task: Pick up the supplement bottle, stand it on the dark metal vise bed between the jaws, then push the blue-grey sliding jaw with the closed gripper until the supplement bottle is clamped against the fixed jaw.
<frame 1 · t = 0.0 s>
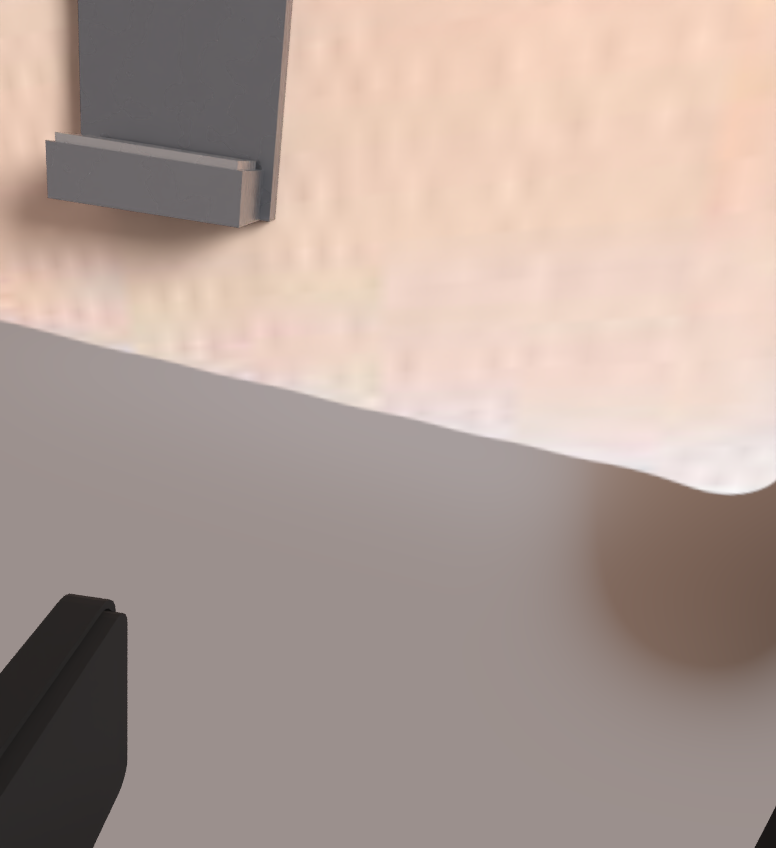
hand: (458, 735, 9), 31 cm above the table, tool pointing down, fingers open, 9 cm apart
vise bed: (191, 18, 33), on the table
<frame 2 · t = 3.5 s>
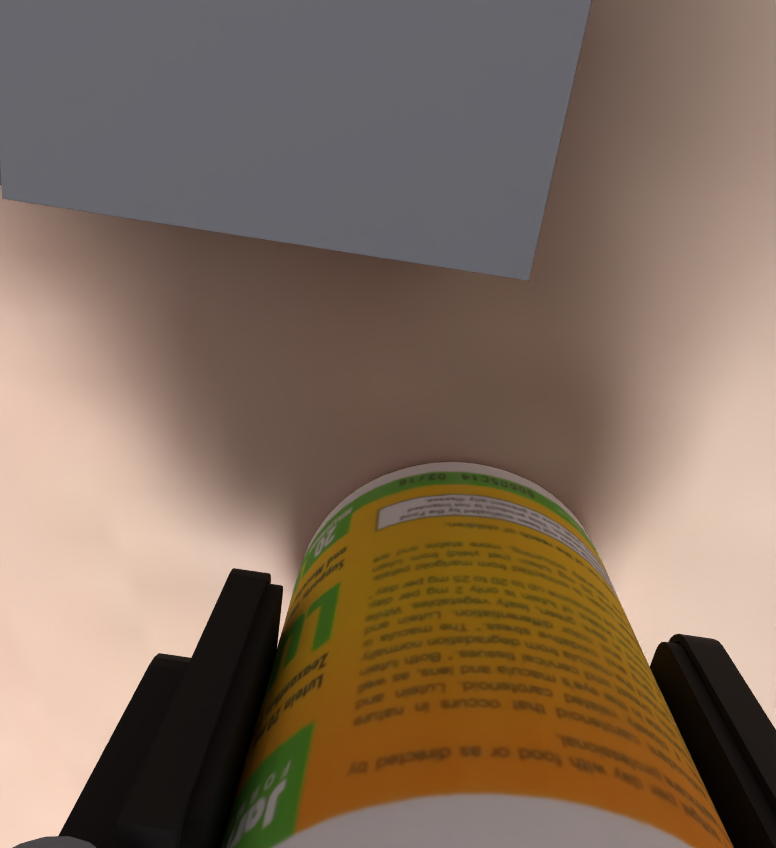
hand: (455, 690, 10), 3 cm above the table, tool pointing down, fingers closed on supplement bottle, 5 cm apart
supplement bottle: (447, 581, 12), on the table, touching gripper
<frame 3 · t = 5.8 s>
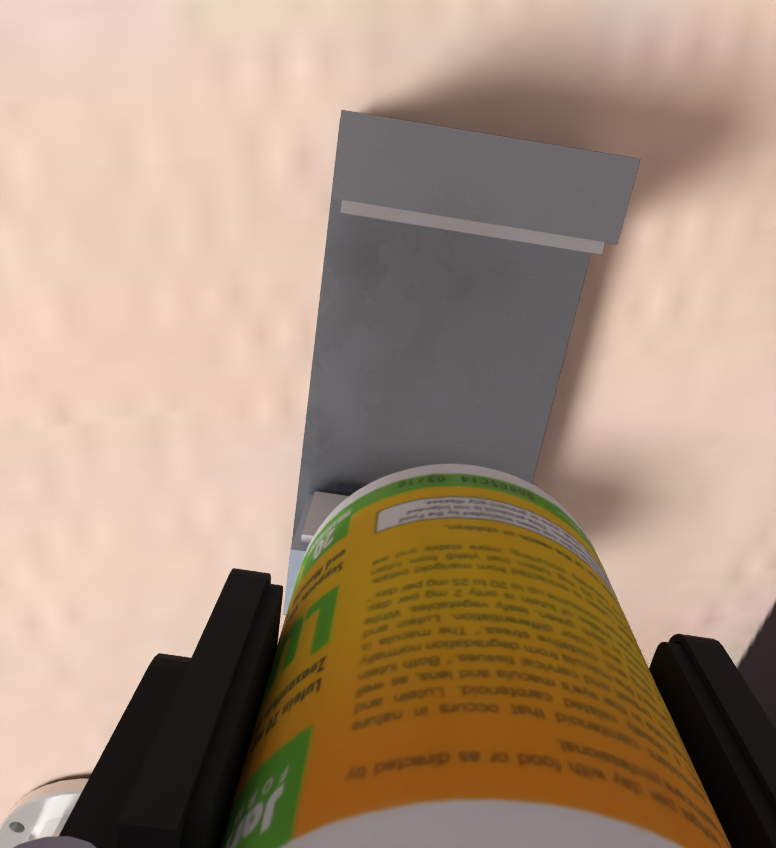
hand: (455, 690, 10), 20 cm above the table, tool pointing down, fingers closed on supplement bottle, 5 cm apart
vise bed: (433, 367, 28), on the table
supplement bottle: (446, 583, 12), point 17 cm above the table, touching gripper
jaw: (397, 602, 28), point 4 cm above the table, slide at 0.0 cm
when the fingers open (5 cm above the table, at t = 8.5 s): supplement bottle drops 1 cm, resting on vise bed.
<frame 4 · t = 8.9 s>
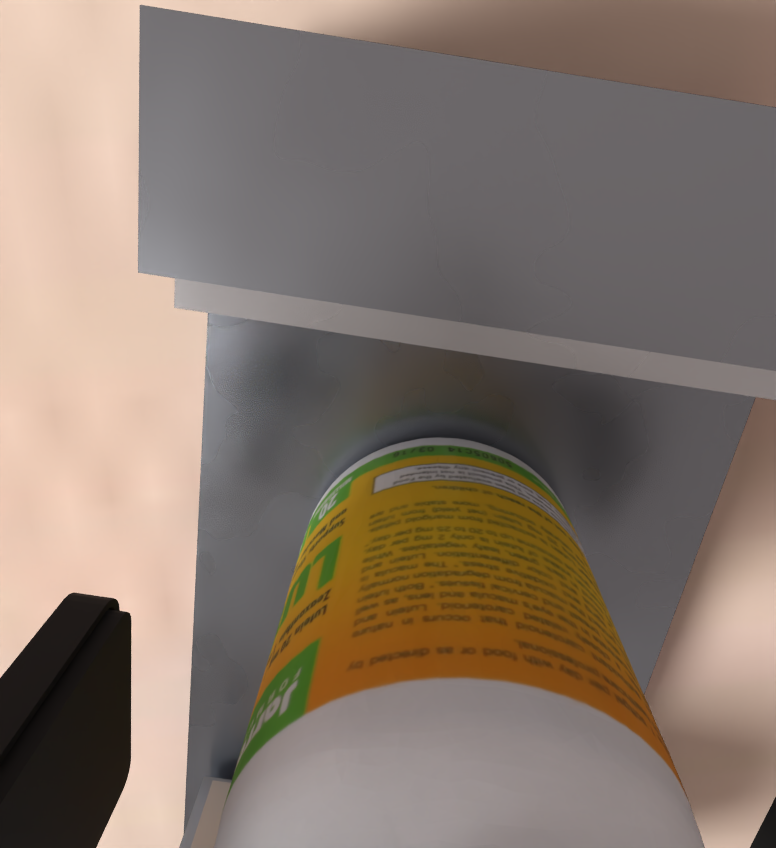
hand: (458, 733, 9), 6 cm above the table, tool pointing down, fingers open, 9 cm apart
vise bed: (434, 546, 15), on the table
supplement bottle: (437, 546, 14), point 1 cm above the table, touching vise bed
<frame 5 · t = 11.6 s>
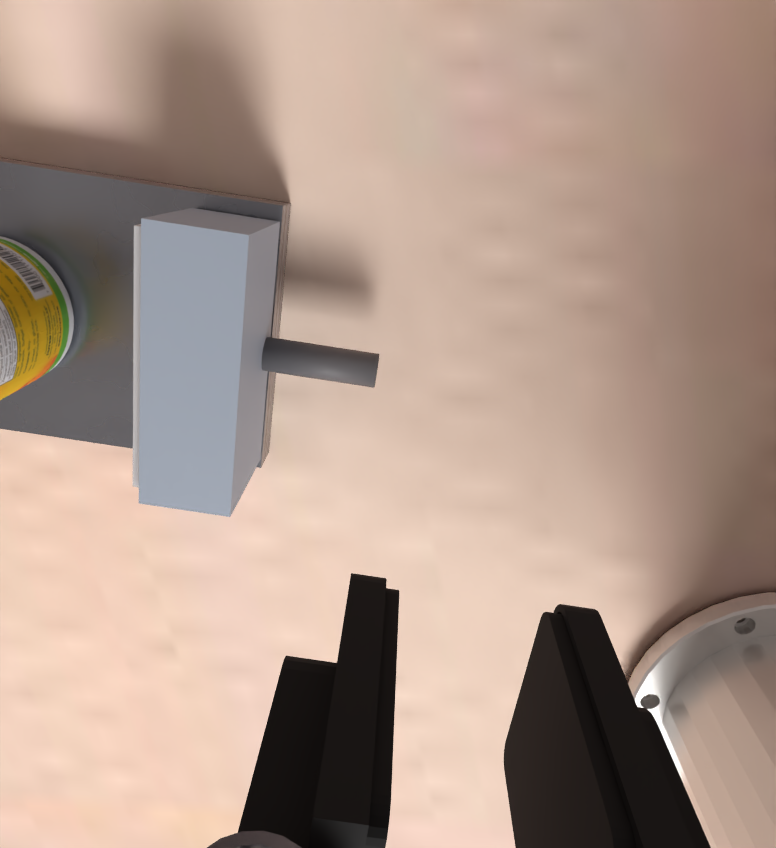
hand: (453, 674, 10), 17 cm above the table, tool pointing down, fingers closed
vise bed: (48, 301, 26), on the table
supplement bottle: (8, 307, 25), point 1 cm above the table, touching vise bed
jaw: (264, 367, 22), point 4 cm above the table, slide at 0.0 cm
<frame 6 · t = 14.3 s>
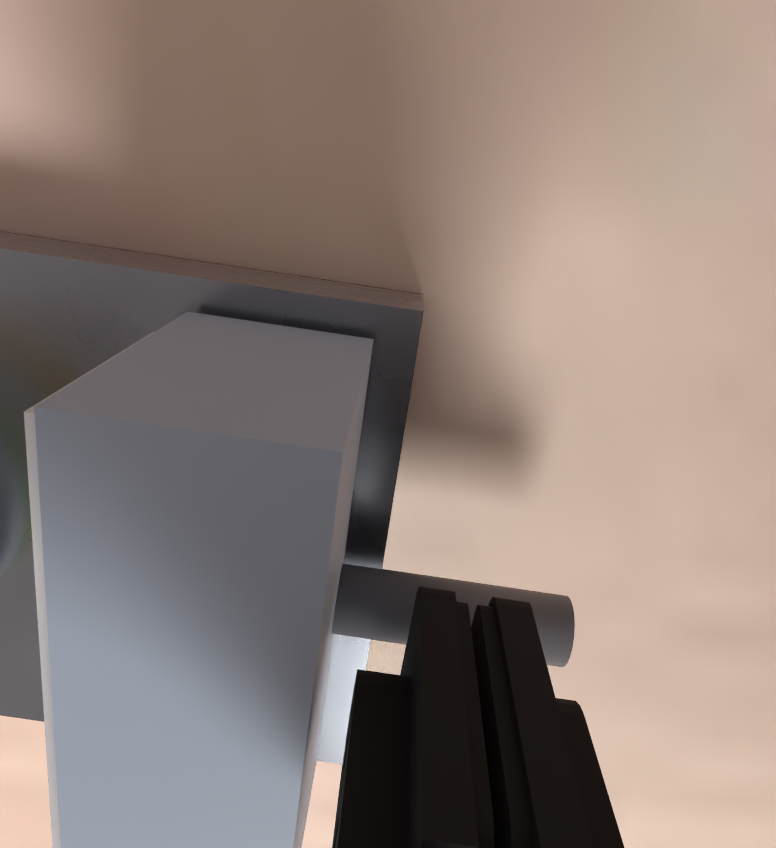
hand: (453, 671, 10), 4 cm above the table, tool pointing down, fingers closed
jaw: (344, 662, 10), point 4 cm above the table, slide at 0.7 cm, touching gripper
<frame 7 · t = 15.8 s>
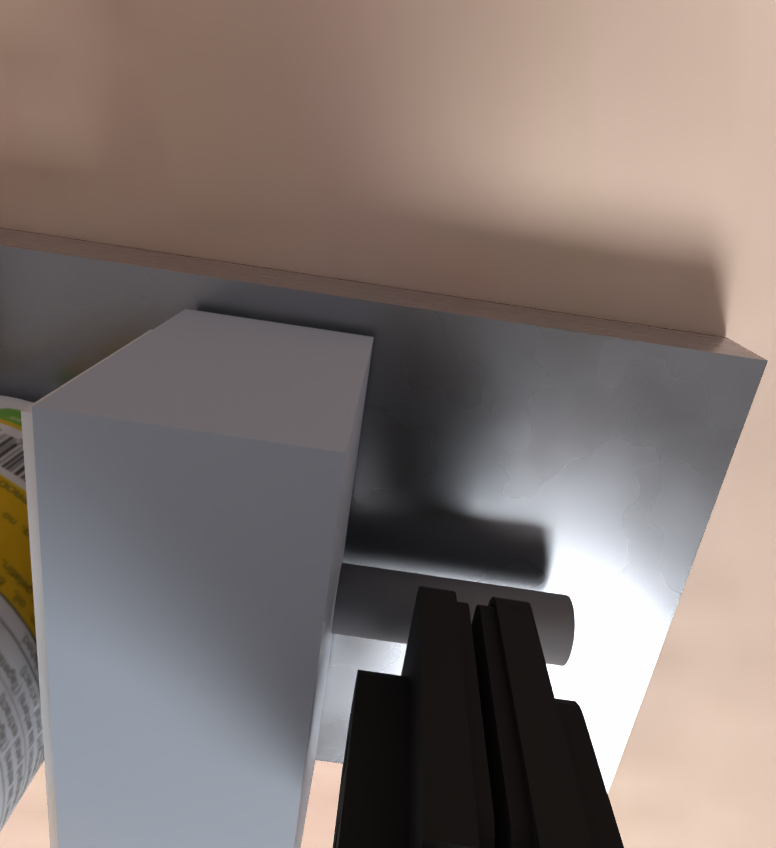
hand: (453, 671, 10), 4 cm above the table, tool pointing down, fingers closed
vise bed: (223, 506, 14), on the table
supplement bottle: (25, 517, 13), point 1 cm above the table, touching jaw, vise bed
jaw: (344, 662, 10), point 4 cm above the table, slide at 6.3 cm, touching supplement bottle, gripper
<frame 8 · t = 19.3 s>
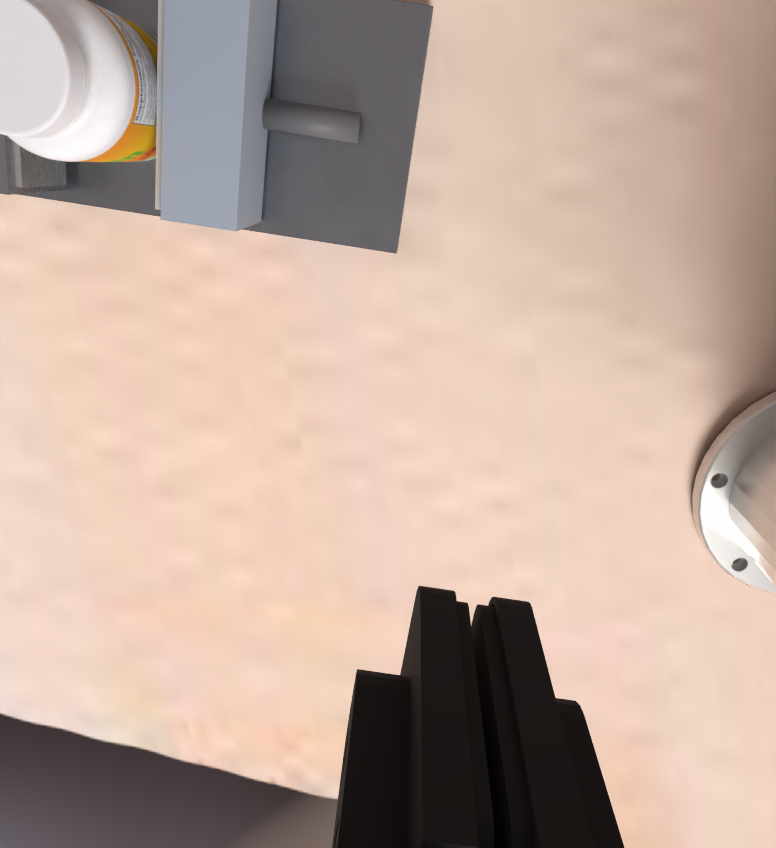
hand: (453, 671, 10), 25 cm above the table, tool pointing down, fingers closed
vise bed: (219, 107, 30), on the table
supplement bottle: (133, 95, 29), point 1 cm above the table, touching jaw, vise bed
jaw: (264, 111, 27), point 4 cm above the table, slide at 6.3 cm, touching supplement bottle
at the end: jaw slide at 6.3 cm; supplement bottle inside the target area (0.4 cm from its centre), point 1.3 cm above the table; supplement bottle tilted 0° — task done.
